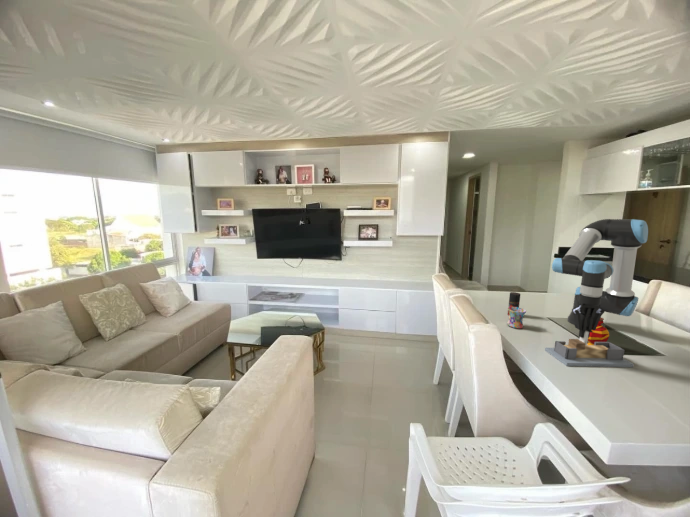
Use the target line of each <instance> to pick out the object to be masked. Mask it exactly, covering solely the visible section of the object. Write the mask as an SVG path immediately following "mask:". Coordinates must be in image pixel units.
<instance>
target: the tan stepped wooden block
mask: <svg viewBox="0 0 690 517" xmlns="http://www.w3.org/2000/svg"><path fill="white" fill-rule="evenodd" d="M564 346H565V347H567V348H576V349H577V354H576V358H606V355H607V350H608V348H606V347H605V346H603V345H586V343H584V342H582V341H580V340H579V338H568V344H565V345H564Z"/></svg>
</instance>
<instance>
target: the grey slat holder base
mask: <svg viewBox="0 0 690 517" xmlns="http://www.w3.org/2000/svg"><path fill="white" fill-rule="evenodd" d="M554 342H555V343H554V347H544V351H545V352H546V353H548V354H549V355H551V356H552V357H553V358H554V359H556V360H557V361H559V363H561V364H563V365H564V366H566V367H597V368H598V367H599V368H600V367H601V368H602V367H603V368H604V367H605V368H608V367H609V368H634V363H632V362H631V361H629V360H627V359H625V358H624V355H625V349H624V348H622V347H620V346H618V345H616V344H614V343H612V342H610V341H607V342H595V343H594V345H603V346H605V347H606V348H608V350H607V355H606V358H576V354H577V349H576V348H567V347H565V346H564V345H567V342H566V341H564V340H563V341H562V340H555V341H554Z"/></svg>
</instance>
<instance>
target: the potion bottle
mask: <svg viewBox="0 0 690 517" xmlns="http://www.w3.org/2000/svg"><path fill="white" fill-rule="evenodd" d="M604 320H605V319H604V317H601V318H600V320H599V322H598V325H597V327H596V329H595V330H591V331H593V332H590V335H589V338H588V341H587V345H594V343H595V342H608V340H609V339H610V338H609V337H610V332H609V330H608V329H607V327H605V326H604V325H603V324H604ZM592 327H593V326H592Z"/></svg>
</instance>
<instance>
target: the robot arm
mask: <svg viewBox="0 0 690 517" xmlns="http://www.w3.org/2000/svg"><path fill="white" fill-rule="evenodd" d="M648 236H649V226H648V224H647V221H645V220H643V219H635V218H632V219H631V218H630V219H628V218H627V219H626V218H624V219H623V218H622V219H618V218H617V219H616V218H615V219H614V218H604V219H603V218H602V219H600V220H596V221H593V222H591V223H589V224H587V225H585V227H584V228H582V229H581V230H580V231H579V235H578V238H577V239H576V240H575V242H573V245H572V246H571V247H570V248H569V249H568V251H567V252H566V253H565V255H564V256H563V257H555V258H554V259H553V261H552V264H551V268H552V271H553V272H554V273H558V274H563V275H569V276H578V277H581V280H580V281H581V282H580V286H577V288H575V292H574V299H573V306H572V308H571V311H570V314H569V315H568V316H567V322H569V324H572V325H573V326H574V327H575V329H577V330H579V331H578V337H579V338H578V340H580V341H582V342H584V343H586V345H587V343H588V338H589V335H590V332H593V331H591V330H595V329H596V327H597V325H598V322H599V320H600V318H602V315H603V314H604V313H609V314H614V315H618V316H624V317H630V316H632V315H633V313H634V311H635V309H636V308H637V305H638V302H639V297H638V296H636V294H635V292H634V291H633V290H632V288H633V280H634V273H635V265H636V261H637V260H636V258H637V252H638V249H639V248H641V247H642V245H643V244H645V243H647V241H648ZM600 241H605V242H606V241H610V246H611V247H612V248H614V249H613V258H612V264H610V263H608V262H605V261H602V260H597V259H596V260H593V259H590V260H589V259H587V260H584V259H585V258H586V257H587V256H588V254H589V252H590V251H591V250H592V248H594V245H596V244H597V243H599V242H600ZM609 278H610V281H609V282H610V283H609V287H608V288H605V290H603V289H604V283H605V280H606V279H609ZM592 326H593V327H592Z"/></svg>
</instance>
